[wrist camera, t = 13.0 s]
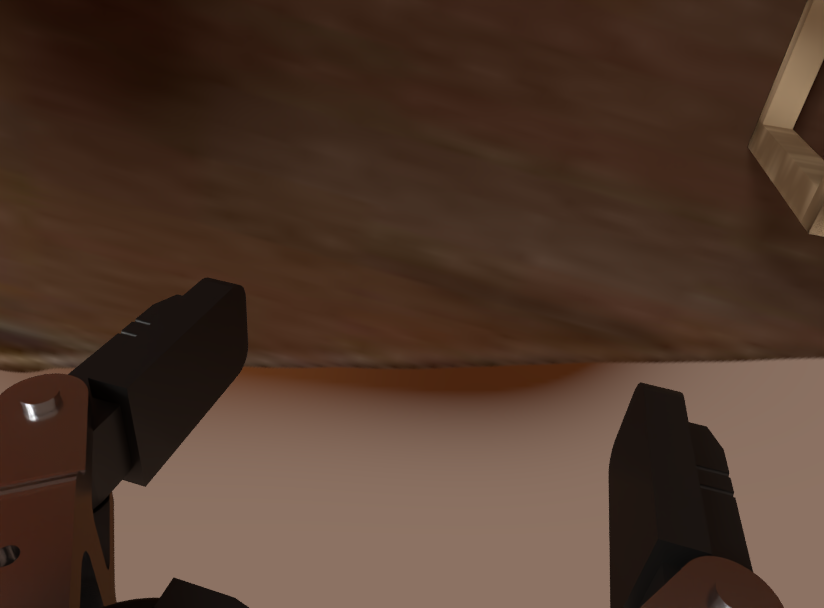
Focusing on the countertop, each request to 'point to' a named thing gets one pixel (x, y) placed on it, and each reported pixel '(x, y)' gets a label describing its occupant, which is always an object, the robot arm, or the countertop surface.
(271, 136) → the countertop surface
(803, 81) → the frame
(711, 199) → the countertop surface
